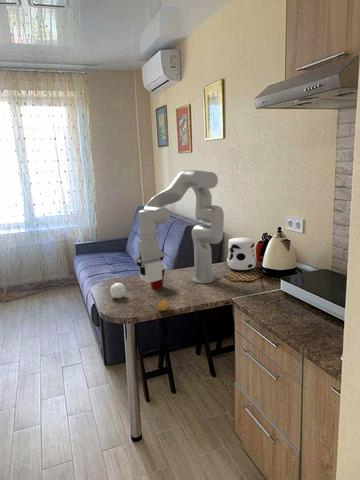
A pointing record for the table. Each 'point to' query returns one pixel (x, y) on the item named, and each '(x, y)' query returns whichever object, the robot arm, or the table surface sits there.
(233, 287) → the table surface
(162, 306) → the ball
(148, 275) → the white angular block
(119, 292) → the geometric ball
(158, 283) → the plastic cup
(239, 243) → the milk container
